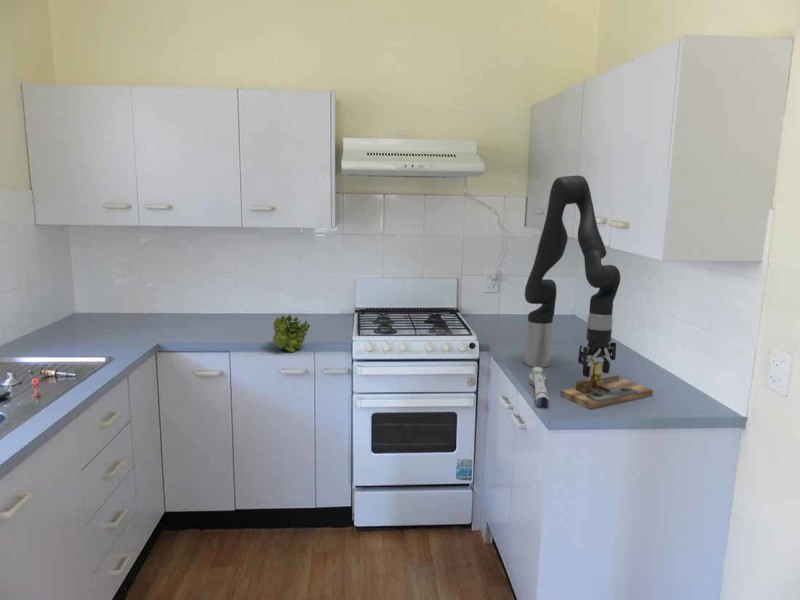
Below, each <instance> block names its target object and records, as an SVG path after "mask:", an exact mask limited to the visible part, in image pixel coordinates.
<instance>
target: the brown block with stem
mask: <svg viewBox="0 0 800 600" xmlns="http://www.w3.org/2000/svg"><path fill="white" fill-rule="evenodd" d="M575 382H576V390H577V391H579V392H581V393H584V394H586V393H591V392H592V393H595V394H599V392H598V391H596V390H594V389H592V383H589V382H587V381H585V380H584V379H581V380H576V381H575Z"/></svg>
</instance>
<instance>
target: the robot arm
mask: <svg viewBox="0 0 800 600" xmlns="http://www.w3.org/2000/svg"><path fill="white" fill-rule="evenodd" d="M549 193H550V194H549V199H548V206H547V211H546V216H545V221H544V225H543V229H542V233H541V235H540V239H539V243H538V246H537V251H536V255H535V259H534V261H533V262H534V263H533V266H532V268H531V271H530V273H529V275H528V278H527V281H526V284H525V289H524V297H525V298H524V299H525V301H526V302H527V303H528V304H532V305H541V306H540V307H538V308H537V309H535V310H532V311H531V312H528V314H527V328H526V329H527V330H526V331H527V333H526V338H524V354H523V363H525V365H526V366H529V367H532V368H534V367H541V368H542V369H543V368H548V367H550V364H551V351H552V338H553V337H552V335H553V322H554V321H553V320H554V315H555V309H556V300H557V284H556V282H555V281H554V280H552V279H550V278H549V279H545V278H544V277H545V275H546V274H547V273H548V272H549V270H550V269H552V268H553V267H554V266H556V264H558V262H559V261H560V260H561V259H562V257H563V256H564V253H565V251H566V248H567V247H566V246H567V244H568V239H569V238H568V233H567V229H566V226H565V224H564V222H563V221H564V219H563V215H564V211H565V208H566V206H567V205H573V204H574V205H576V206H577V208H578V211H579V225H578V230H577V242H578V243H579V247H580V249H581V252H582V255H583V257H584V270H585V272H584V273H585V279H586V280H587V281H586V282H587V283H588V284H589V285H590V286H591V287H592V288H594V289H598V291H597V292H596V293H595V294H593V295H591V296H590V300H589V312H588V318H587V324H586V325H587V327H586V328H587V329H586V340H587V345H582V344H581V345H580V346H579V351H578V359H577V363H578V364H581V365H582V375H583V377H585V378H590V377H591V365H592V361H596V359H598V358H602V360H603V361H602V370H601V373H603V374H609V372H610V368H611V363H612V361H615V360H616V356H617V355H616V354H617V343H616V342H615V341H612V332H613V312H614V311H613V309H614V308H613V307H614V300H615V298H616V296H617V292H618V290H619V286H620V283H621V273H620V270H619V268H618V267H617V266H615V265H613V264H604V265H602V260H603V259H604V258H605V257H606V255H607V249H606V246H605V244H604V243H605V242H603V239H602V235H601V233H600V231H599V227H598V224H597V220H596V215H595V210H594V205H593V199H592V193H591V190H590V187H589V183H588V181H587V180H586V178H585V177H584V176H582V175H577V174H576V175H568V176H567V175H566V176H560V177H557V178H555V180H554V181H553V182H552V185H551V188H550V192H549Z"/></svg>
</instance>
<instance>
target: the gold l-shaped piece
mask: <svg viewBox="0 0 800 600" xmlns="http://www.w3.org/2000/svg"><path fill="white" fill-rule="evenodd" d="M602 367H603V361H599V360H594V361H592V363H591V364H590V376H589V377H587V382H589V383H592V389H594V390H596V391H598V390H604V391H607V392H610V389H608V388H606V387H603V381H602V380H601V377H602Z"/></svg>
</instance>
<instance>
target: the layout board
mask: <svg viewBox="0 0 800 600" xmlns="http://www.w3.org/2000/svg"><path fill="white" fill-rule="evenodd" d="M587 380H588V379H587ZM587 380H584V381H587ZM601 380H602V381H603V387H606V388H608V389H610V392H607V391H604V390H598V392H599V394H595V393H592V392H591V393H586V394H584V393H581V392H579V391H577V390H576V381H575V382H573V387H571V388H565V389H560V395H561V396H560V397H562V398H565V399H566V398H567V400H568V399H569V401H570V402H573V403H575V404H577V405H579V406H582V407H584V408H585V409H588V410H593V409H599V408H603V407H607V406H611V405H612V406H613V405H616V404H621V403H626V402H630V401H635V400H639V399H643V398H649V397H652V396H653V393H654V390H653V389H652V388H649V387H646V386H643V385H641V384H638V383H636V382H634V381H630V380H628V379H625V378H622V377H621V378H620V375H619V374H611V375H606V376H601ZM648 396H649V397H648Z"/></svg>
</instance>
